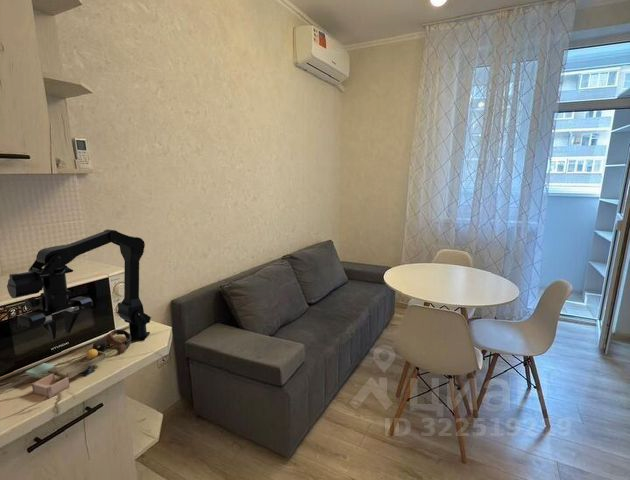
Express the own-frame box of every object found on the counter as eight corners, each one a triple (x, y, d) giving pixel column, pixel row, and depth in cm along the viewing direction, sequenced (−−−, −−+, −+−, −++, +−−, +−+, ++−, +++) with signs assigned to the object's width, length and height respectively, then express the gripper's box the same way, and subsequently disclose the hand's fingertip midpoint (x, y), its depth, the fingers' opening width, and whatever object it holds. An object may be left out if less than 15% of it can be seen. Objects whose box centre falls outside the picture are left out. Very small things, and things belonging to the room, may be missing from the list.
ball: (90, 356, 105) (89, 347, 105) (100, 355, 106) (99, 347, 105) (85, 361, 102) (84, 352, 102) (95, 360, 103) (94, 351, 102)
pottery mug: (115, 343, 122) (125, 325, 121) (128, 359, 118) (139, 341, 117) (82, 349, 110) (92, 330, 110) (96, 368, 107) (107, 348, 106)
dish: (53, 382, 96) (52, 373, 96) (69, 386, 94) (68, 377, 94) (33, 393, 91) (31, 383, 91) (49, 398, 89) (48, 388, 89)
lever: (76, 352, 110) (76, 345, 109) (107, 359, 106) (106, 352, 105) (26, 376, 96) (25, 369, 95) (59, 385, 92) (58, 378, 91)
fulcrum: (83, 368, 104) (82, 362, 104) (95, 371, 102) (94, 365, 102) (73, 373, 101) (73, 367, 101) (86, 376, 100) (85, 370, 99)
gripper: (67, 278, 111) (72, 321, 113) (1, 295, 93) (8, 345, 96) (91, 281, 107) (95, 325, 110) (27, 299, 90) (34, 351, 92)
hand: (60, 336), depth 102 cm, fingers open, 4 cm apart
